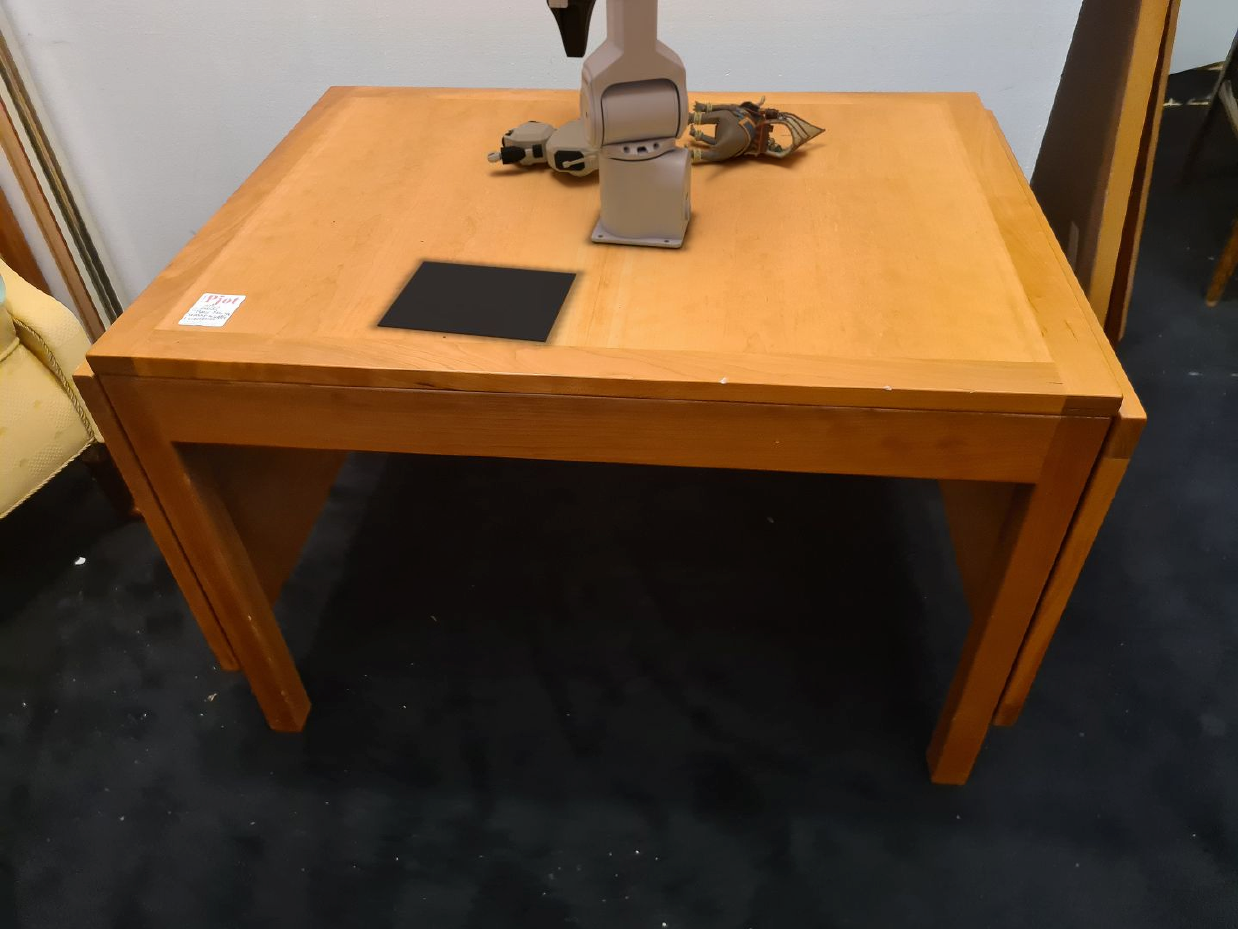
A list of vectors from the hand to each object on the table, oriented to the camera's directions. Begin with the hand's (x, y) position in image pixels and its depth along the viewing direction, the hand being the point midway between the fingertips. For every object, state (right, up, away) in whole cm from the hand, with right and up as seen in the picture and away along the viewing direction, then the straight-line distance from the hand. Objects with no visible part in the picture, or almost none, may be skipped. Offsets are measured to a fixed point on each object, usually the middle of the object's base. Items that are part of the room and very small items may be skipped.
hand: (576, 55), depth 107 cm
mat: (-8, -35, -24) cm, 43 cm away
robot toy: (-2, -14, -1) cm, 14 cm away
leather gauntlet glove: (+22, -12, 0) cm, 25 cm away
